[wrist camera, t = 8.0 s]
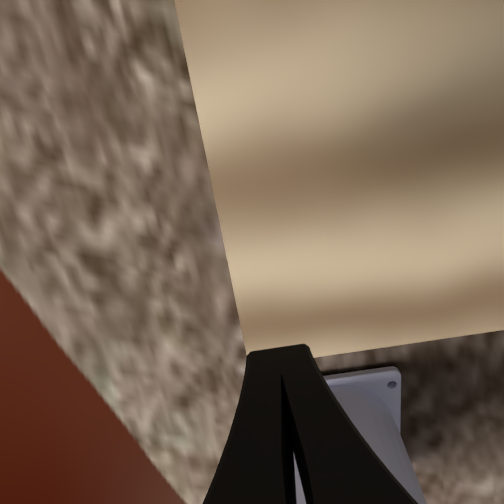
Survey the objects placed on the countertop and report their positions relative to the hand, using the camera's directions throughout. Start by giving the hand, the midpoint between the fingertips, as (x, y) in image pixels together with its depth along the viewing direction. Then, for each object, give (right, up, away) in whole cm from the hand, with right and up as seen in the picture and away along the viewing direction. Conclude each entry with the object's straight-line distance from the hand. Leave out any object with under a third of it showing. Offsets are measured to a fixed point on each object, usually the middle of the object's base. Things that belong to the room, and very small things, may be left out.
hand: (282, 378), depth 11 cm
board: (+4, +7, +8) cm, 12 cm away
